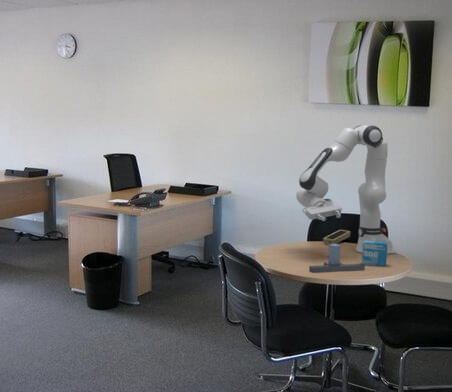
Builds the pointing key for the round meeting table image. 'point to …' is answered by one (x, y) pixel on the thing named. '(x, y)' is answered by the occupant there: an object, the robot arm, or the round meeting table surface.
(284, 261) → the round meeting table surface
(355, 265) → the rail bracket
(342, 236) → the box
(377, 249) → the blue printed carton
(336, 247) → the square post
